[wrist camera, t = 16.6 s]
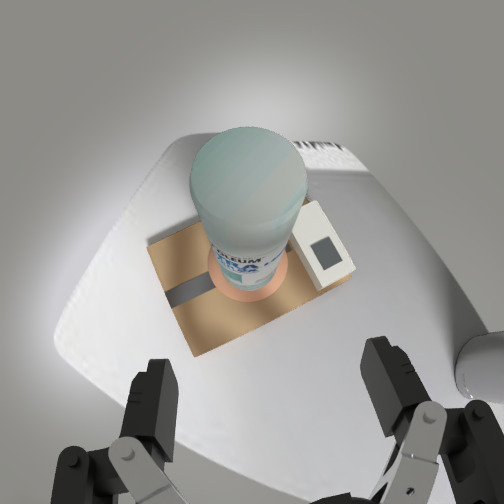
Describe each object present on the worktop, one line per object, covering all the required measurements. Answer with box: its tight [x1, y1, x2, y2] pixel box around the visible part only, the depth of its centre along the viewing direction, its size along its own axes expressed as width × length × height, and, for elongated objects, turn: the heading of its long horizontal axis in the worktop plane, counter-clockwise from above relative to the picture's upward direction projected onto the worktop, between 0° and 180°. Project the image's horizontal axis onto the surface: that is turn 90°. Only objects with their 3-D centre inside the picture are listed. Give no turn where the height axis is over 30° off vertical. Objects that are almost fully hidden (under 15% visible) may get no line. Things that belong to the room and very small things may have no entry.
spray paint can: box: [190, 127, 307, 291], centre depth 26 cm, size 6×6×20 cm
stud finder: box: [289, 200, 356, 291], centre depth 35 cm, size 9×4×3 cm, turn 27°
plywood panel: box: [146, 197, 352, 357], centre depth 36 cm, size 20×14×2 cm
